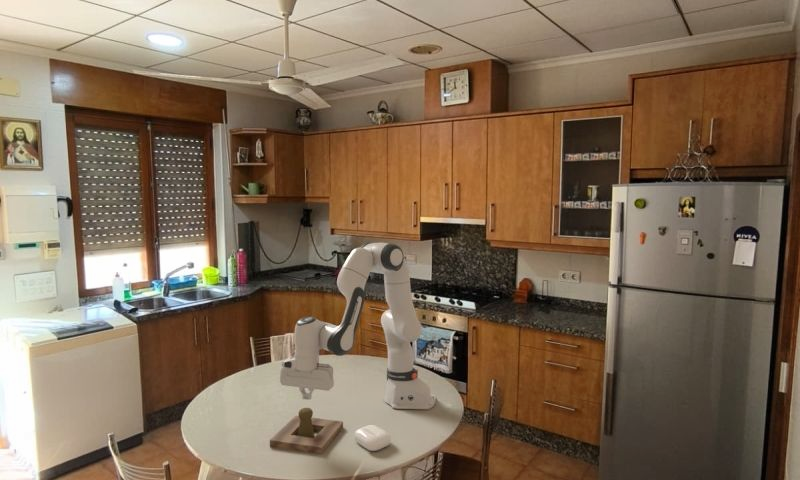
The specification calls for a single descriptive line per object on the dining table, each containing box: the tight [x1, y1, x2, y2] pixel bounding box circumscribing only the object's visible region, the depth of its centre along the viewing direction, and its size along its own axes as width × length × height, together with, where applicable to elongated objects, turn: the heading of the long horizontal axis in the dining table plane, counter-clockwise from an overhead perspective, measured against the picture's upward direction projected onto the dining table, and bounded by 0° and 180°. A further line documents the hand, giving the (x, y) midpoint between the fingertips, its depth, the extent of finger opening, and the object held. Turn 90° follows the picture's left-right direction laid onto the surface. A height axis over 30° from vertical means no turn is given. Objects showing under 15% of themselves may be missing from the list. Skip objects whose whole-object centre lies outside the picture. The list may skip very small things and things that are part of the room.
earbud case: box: [353, 424, 392, 452], centre depth 172 cm, size 10×13×5 cm
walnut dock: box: [269, 415, 344, 455], centre depth 176 cm, size 20×20×3 cm
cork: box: [297, 407, 315, 438], centre depth 176 cm, size 6×6×11 cm
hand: (307, 398), depth 175 cm, fingers closed
